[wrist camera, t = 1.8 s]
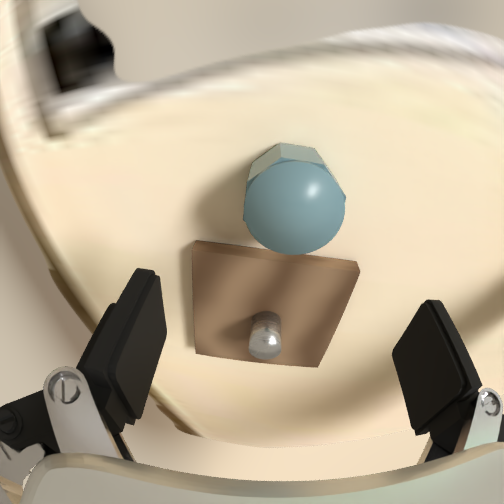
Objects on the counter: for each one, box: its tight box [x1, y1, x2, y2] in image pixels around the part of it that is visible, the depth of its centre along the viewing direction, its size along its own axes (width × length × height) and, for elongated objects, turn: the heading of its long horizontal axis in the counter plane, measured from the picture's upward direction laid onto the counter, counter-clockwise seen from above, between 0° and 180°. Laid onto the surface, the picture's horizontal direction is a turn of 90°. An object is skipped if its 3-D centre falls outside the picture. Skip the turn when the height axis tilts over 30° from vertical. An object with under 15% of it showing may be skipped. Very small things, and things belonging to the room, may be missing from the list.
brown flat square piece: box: [192, 240, 360, 367], centre depth 27 cm, size 14×14×2 cm
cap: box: [243, 143, 346, 255], centre depth 19 cm, size 6×6×5 cm
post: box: [249, 311, 281, 359], centre depth 25 cm, size 3×3×4 cm
